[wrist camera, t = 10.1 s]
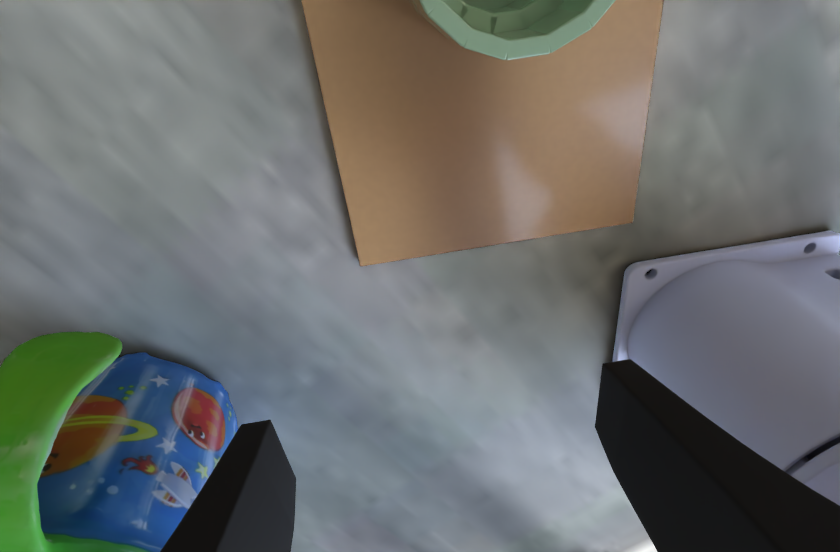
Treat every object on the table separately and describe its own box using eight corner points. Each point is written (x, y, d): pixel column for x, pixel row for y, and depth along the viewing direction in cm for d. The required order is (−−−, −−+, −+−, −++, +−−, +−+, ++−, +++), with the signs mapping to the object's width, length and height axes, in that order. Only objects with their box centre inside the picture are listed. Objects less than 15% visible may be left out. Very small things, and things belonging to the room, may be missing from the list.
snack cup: (258, 514, 27) (209, 767, 18) (46, 503, 24) (-127, 789, 16) (296, 289, 19) (243, 541, 10) (-7, 240, 17) (-401, 516, 8)
